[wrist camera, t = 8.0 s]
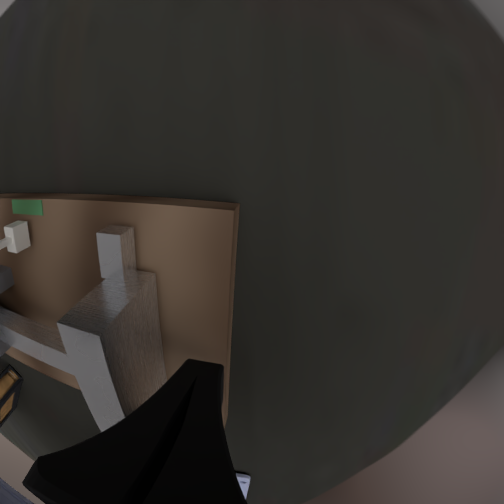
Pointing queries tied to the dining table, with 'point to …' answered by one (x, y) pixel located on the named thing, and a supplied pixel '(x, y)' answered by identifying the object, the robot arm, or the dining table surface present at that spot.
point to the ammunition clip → (9, 392)
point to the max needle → (16, 237)
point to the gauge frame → (147, 259)
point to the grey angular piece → (103, 334)
